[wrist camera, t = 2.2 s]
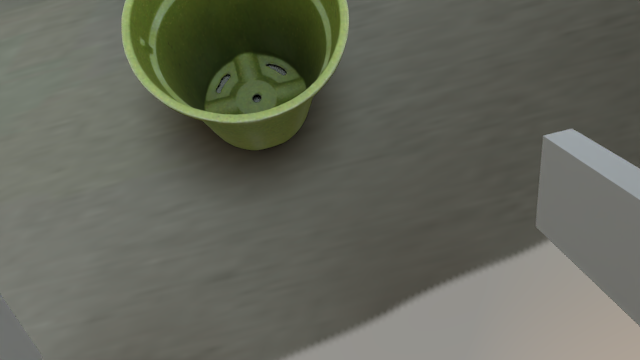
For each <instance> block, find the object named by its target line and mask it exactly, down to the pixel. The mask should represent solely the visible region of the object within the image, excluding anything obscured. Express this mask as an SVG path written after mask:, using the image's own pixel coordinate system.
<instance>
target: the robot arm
mask: <svg viewBox="0 0 640 360" xmlns="http://www.w3.org/2000/svg"><path fill="white" fill-rule="evenodd" d="M536 227H537V228H538V229H539V230H540V231H541V232H542V233H543V234H544V235H545V236H546V237H547V238H548V239H549V240H550V241H551V242H552V243H553V244H554V245H556V246H557V247H558V248H559V249H560V250H561V251H562V252H563V253H564V254H565V255H566V256H567V257H568V258H569V259H570V260H571V261H572V262H573V263H574V264H575V265H576V266H578V268H580V269H581V270H582V271H583V272H584V273H585V274H586V275H587V276H588V277H589V278H590V279H591V280H592V281H593V282H594V283H595V284H596V285H597V286H598V287H599V288H600V289H601V290H602V291H604V292H605V293H606V294H607V295H608V296H609V297H610V298H611V299H612V300H613V301H614V302H615V303H616V304H617V305H618V306H619V307H620V308H621V309H622V310H623V311H624V312H625V313H627V314H628V315H629V316H630V317H631V318H632V319H633V320H634V321H635V322H636V323H637V324H638V325H639V326H640V168H638V167H636V166H634V165H633V164H631V163H629V162H628V161H626V160H624V159H623V158H621V157H619V156H618V155H616V154H614V153H612V152H611V151H609V150H607V149H606V148H604V147H602V146H601V145H599V144H597V143H596V142H594V141H592V140H590V139H589V138H587V137H585V136H584V135H582V134H580V133H579V132H577V131H575V130H574V129H568V130H564V131H560V132H556V133H552V134H548V135H544V136H543V143H542V155H541V167H540V179H539V191H538V203H537V215H536ZM42 358H43V356H42V355H41V353H40V352H39V350H38V349H37V347H36V346H35V344H34V343H33V341H32V340H31V338H30V337H29V335H28V334H27V333H26V331H25V330H24V328H23V327H22V325H21V324H20V322H19V321H18V319H17V318H16V316H15V315H14V313H13V312H12V310H11V309H10V307H9V306H8V304H7V303H6V302H5V300H4V299H3V297H2V296H1V294H0V360H42Z"/></svg>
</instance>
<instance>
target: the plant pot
mask: <svg viewBox="0 0 640 360" xmlns="http://www.w3.org/2000/svg"><path fill="white" fill-rule="evenodd" d="M121 24H122V40H123V46H124V51H125V54H126V57H127V60H128V62H129V64H130V66H131V68H132V70H133V72H134V74H135V75H136V76H137V78H138V79H139V81H140V82H141V83H142V84H143V85H144V87H145V88H146V89H147V90H148V91H149V92H150V93H151V94H152V95H154V96H155V97H156V98H157V99H158V100H160V101H161V102H162V103H164V104H165V105H166V106H168V107H169V108H171V109H173V110H175V111H177V112H179V113H181V114H184V115H186V116H189V117H191V118H195V119H198V120H202V121H203V122H204V123H205V124H206V125H208V126H209V127H210V128H211V129H212V130H213V131H214V132H215V133H216V134H217V135H218V136H219V137H221V138H222V139H223V140H224V141H226V142H228V143H229V144H231V145H233V146H236V147H239V148H242V149H247V150H261V149H266V148H270V147H273V146H276V145H279V144H282V143H284V142H286V141H287V140H289V139H290V138H291V137H292V136H294V135H295V134H296V133H297V131H298V130H299V129H300V128H301V126H302V125H303V123H304V121H305V119H306V116H307V113H308V111H309V108H310V105H311V102H312V99H313V96H314V95H315V94H317V93H318V92H319V91H320V90H321V89H322V88H323V87H324V85H325V84H326V83H327V82H328V81H329V79H330V78H331V76H332V75H333V73H334V72H335V70H336V68H337V66H338V65H339V62H340V60H341V58H342V55H343V52H344V49H345V45H346V41H347V36H348V29H349V15H348V5H347V1H346V0H126V1H125V4H124V7H123V13H122V19H121ZM266 64H267V65H268V64H273V65H277V66H280V67H281V68H283V69H284V70H285V71H286V73H287V74H286V75H285V76H283V75H281V74H280V73H278V72H277V71H275V70H273V69H271V68H270V67H267V66H266ZM226 74H230V78H229V79H228V81H227V82H226V83H225V85H224V87H223V88H222V90H221V93H217V92H216V89H217V87H218V85H219V84H220V81H221V79H222V78H223V77H224V76H225V75H226ZM257 94H258V95H260V96H261V100H260V101H259V102H254V101H253V99H252V98H253V97H254V95H257Z"/></svg>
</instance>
